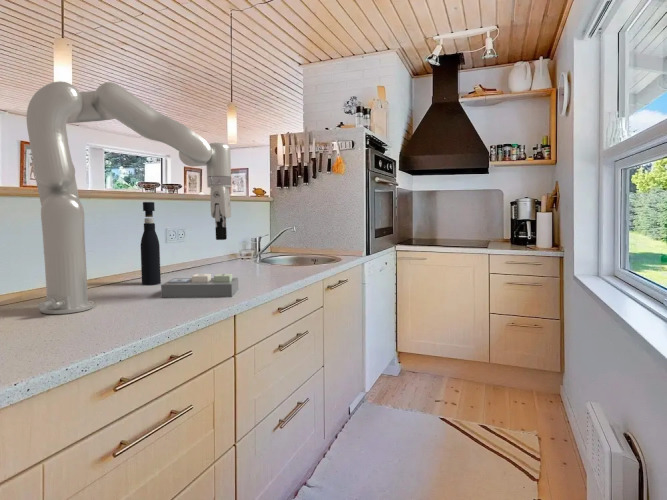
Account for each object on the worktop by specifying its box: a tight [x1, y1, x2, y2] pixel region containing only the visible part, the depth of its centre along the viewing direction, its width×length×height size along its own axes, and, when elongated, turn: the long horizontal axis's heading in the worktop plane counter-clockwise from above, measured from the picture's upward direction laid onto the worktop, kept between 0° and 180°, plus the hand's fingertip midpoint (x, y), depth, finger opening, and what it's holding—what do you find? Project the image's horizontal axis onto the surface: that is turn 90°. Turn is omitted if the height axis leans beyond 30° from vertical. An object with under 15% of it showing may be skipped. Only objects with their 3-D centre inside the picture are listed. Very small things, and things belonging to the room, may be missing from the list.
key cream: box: [191, 273, 212, 283], centre depth 138 cm, size 5×5×3 cm
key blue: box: [169, 278, 190, 283], centre depth 138 cm, size 5×5×3 cm
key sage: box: [213, 273, 233, 283], centre depth 139 cm, size 5×5×3 cm
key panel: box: [160, 277, 239, 299], centre depth 139 cm, size 13×22×4 cm, turn 94°
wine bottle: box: [140, 201, 162, 286], centre depth 155 cm, size 6×6×30 cm
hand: (221, 239), depth 138 cm, fingers closed
